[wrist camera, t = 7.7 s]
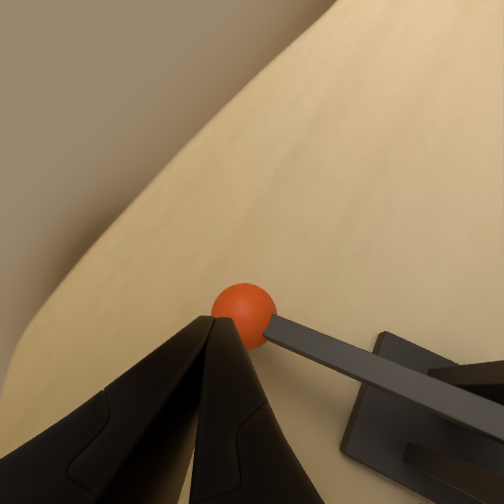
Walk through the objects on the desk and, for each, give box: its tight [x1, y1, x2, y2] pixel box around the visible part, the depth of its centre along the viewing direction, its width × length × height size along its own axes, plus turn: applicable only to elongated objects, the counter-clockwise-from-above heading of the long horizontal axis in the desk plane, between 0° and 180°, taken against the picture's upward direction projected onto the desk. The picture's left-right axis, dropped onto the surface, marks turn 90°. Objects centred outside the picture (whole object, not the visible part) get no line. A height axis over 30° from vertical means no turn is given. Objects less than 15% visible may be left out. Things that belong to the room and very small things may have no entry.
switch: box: [211, 283, 504, 445], centre depth 14 cm, size 16×3×3 cm, turn 64°
